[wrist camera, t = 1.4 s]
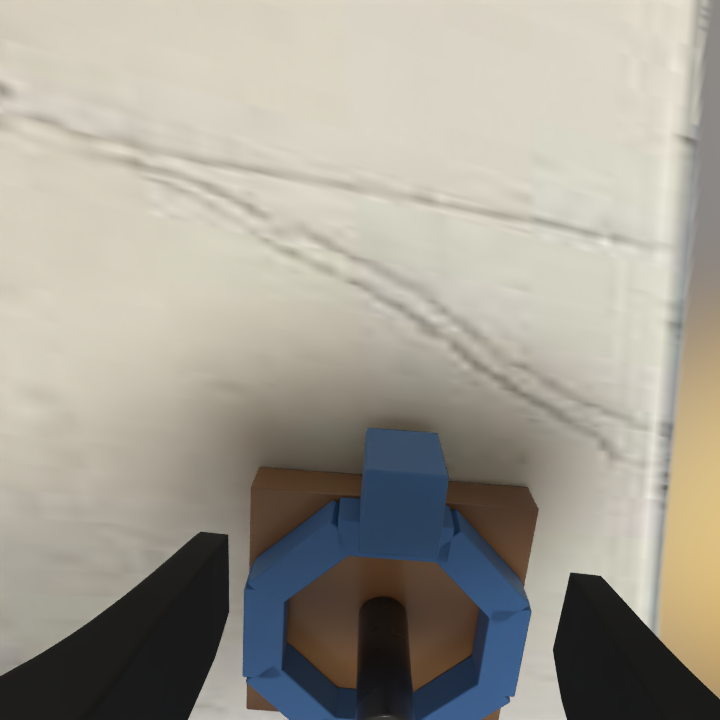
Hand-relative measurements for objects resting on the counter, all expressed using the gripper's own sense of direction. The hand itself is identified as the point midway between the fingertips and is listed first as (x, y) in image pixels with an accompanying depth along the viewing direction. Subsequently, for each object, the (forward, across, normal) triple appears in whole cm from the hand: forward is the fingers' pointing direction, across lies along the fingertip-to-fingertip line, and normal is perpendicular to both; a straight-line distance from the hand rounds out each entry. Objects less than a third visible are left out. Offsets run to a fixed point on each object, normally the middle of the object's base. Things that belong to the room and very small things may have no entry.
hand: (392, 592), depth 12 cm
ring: (+7, 0, +6) cm, 10 cm away
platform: (+9, 0, +8) cm, 12 cm away
